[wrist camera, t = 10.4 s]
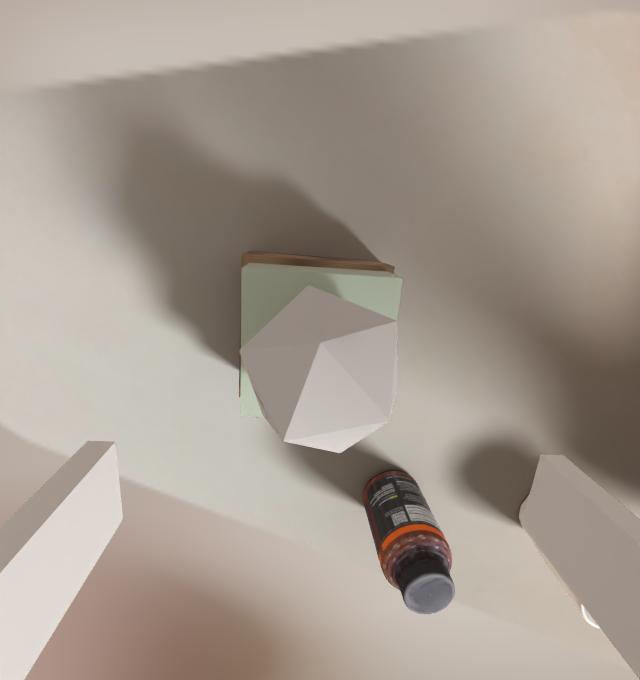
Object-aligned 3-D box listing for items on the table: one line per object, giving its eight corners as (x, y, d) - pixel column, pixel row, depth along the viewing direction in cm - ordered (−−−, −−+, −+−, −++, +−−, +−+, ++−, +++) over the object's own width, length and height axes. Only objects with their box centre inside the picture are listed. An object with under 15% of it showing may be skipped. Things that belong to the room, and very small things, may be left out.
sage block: (387, 271, 26) (403, 278, 23) (372, 395, 29) (384, 420, 25) (249, 262, 26) (241, 268, 22) (247, 391, 28) (240, 416, 25)
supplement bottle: (392, 524, 39) (430, 636, 28) (350, 498, 38) (373, 605, 27) (429, 485, 38) (484, 587, 27) (387, 457, 37) (427, 552, 26)
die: (284, 257, 22) (180, 358, 16) (425, 269, 19) (366, 404, 12) (305, 356, 27) (233, 463, 21) (420, 379, 24) (376, 516, 18)
